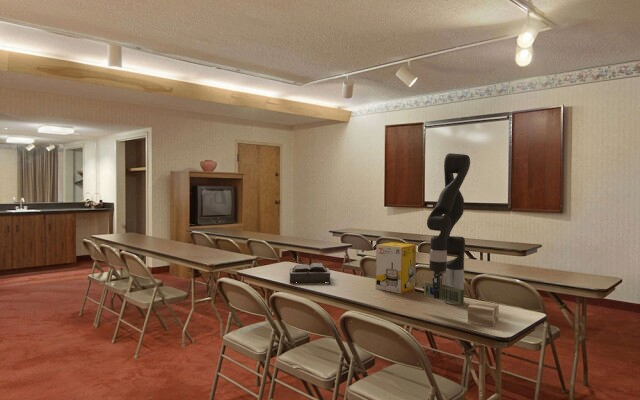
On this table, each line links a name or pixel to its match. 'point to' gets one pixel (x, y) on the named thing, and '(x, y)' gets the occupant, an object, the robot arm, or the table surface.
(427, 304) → the table surface
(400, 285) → the packaging box
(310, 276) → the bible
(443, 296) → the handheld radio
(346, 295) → the table surface
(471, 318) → the birch block
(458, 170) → the robot arm
